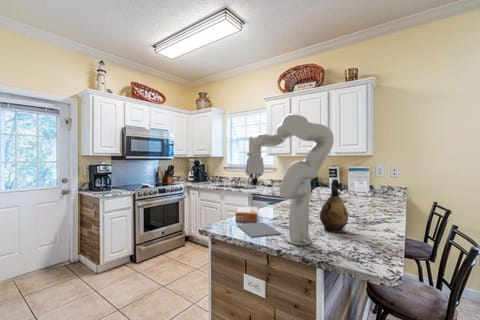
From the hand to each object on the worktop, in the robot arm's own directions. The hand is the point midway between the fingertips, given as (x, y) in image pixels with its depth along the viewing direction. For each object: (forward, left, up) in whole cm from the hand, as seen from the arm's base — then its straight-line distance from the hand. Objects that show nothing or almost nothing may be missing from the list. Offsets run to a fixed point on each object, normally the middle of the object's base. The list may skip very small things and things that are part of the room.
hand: (254, 184), depth 145 cm
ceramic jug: (-21, -42, -26) cm, 54 cm away
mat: (-8, +1, -25) cm, 27 cm away
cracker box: (+9, +2, -23) cm, 24 cm away
